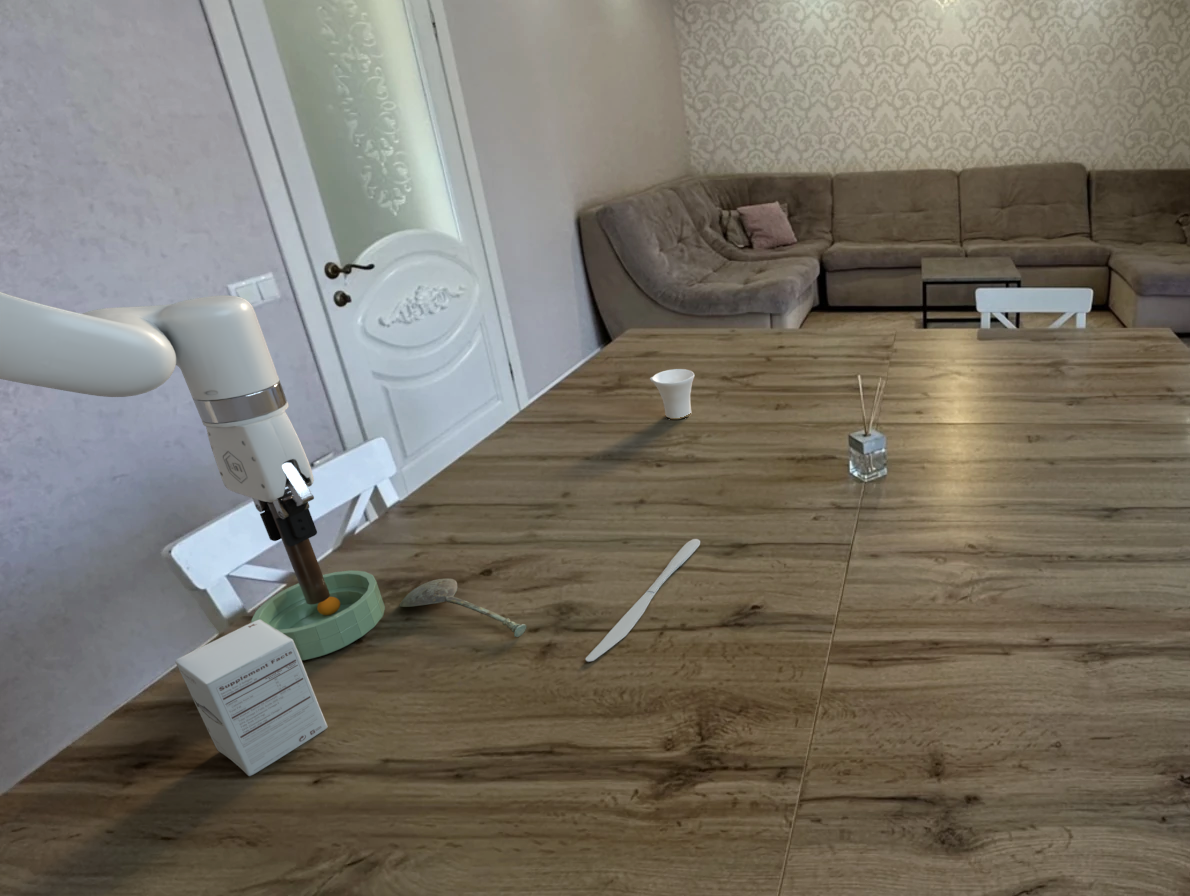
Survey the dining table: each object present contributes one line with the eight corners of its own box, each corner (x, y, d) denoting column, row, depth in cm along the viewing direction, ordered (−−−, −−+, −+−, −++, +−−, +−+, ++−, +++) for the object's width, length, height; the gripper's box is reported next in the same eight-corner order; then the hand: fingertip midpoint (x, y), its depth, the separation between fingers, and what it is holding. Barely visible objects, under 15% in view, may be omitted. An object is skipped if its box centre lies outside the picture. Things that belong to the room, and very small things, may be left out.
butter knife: (707, 540, 113) (690, 536, 113) (600, 663, 88) (578, 659, 89) (707, 543, 113) (690, 539, 113) (600, 667, 88) (579, 662, 89)
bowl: (251, 679, 86) (237, 646, 85) (279, 618, 97) (267, 587, 95) (377, 644, 92) (366, 612, 90) (391, 589, 102) (382, 560, 101)
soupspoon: (439, 584, 105) (393, 613, 99) (432, 565, 103) (385, 593, 98) (543, 620, 96) (499, 654, 90) (537, 600, 95) (491, 633, 89)
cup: (656, 411, 162) (650, 370, 159) (699, 406, 165) (694, 365, 161) (655, 427, 154) (648, 384, 151) (699, 421, 157) (694, 379, 153)
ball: (318, 621, 95) (312, 606, 94) (322, 610, 97) (317, 596, 96) (340, 615, 96) (335, 600, 96) (344, 605, 98) (338, 590, 98)
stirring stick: (304, 607, 91) (264, 505, 86) (309, 596, 93) (270, 496, 88) (327, 601, 92) (289, 500, 87) (331, 590, 94) (294, 491, 89)
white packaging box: (215, 752, 77) (171, 659, 72) (297, 704, 83) (261, 615, 78) (247, 780, 73) (203, 684, 69) (330, 728, 80) (294, 637, 75)
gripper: (162, 405, 82) (220, 540, 89) (245, 426, 77) (300, 568, 83) (240, 383, 89) (289, 510, 95) (322, 400, 83) (367, 534, 90)
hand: (294, 536), depth 89 cm, fingers closed on stirring stick, 2 cm apart
